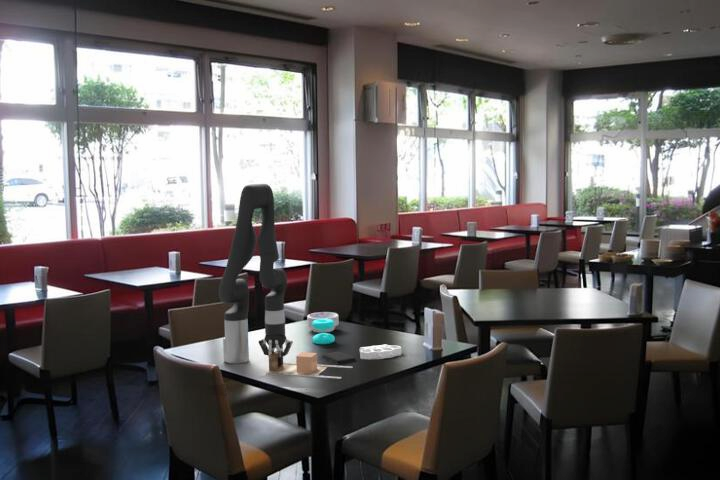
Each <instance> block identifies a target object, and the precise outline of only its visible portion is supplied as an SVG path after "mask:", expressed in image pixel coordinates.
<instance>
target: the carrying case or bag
mask: <svg viewBox="0 0 720 480" xmlns="http://www.w3.org/2000/svg"><path fill="white" fill-rule="evenodd" d="M321 359H323V360H325V361H327V362H330V363H332V364H333V365H334V364H335V365H337V366H342V365H347V364H352V363H356V362H358V359H357V358H356V357H354V356H352V355H350V354H349V353H345V352H342V351H333V352H326V353H323V354H322V355H321Z"/></svg>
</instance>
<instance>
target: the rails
mask: <svg viewBox="0 0 720 480" xmlns="http://www.w3.org/2000/svg"><path fill="white" fill-rule="evenodd" d="M283 364H287V365H297V364H296V362H284V361H283ZM317 366H320V367H327V368H340V369H342V368H343V369H353V366H349V365H334V364H333V365H332V364H319V363H317ZM268 375H276V376H277V375H278V376H292V377H307V378H322V379H337V380H340V379H342V376H333V375H331V376H330V375H329V376H328V375H301V374H286V373H271V372H269V373H268Z"/></svg>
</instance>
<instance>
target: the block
mask: <svg viewBox="0 0 720 480" xmlns="http://www.w3.org/2000/svg"><path fill="white" fill-rule="evenodd" d="M295 358H296V359H295V360H296V362H295V363H296V364H297V372H303V373H313V372H314V371H315V370H316V369H317V364H318V353H317V352H303V351H302V352H300V353H299V354H298V355H296V356H295Z"/></svg>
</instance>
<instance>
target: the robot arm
mask: <svg viewBox="0 0 720 480" xmlns="http://www.w3.org/2000/svg"><path fill="white" fill-rule="evenodd" d="M274 202H275V198H274V193H273V189H272V187H271V186H270V185H269V184H267V183H257V184H256V183H252V184H246V185H245V186H244V187H243V189H242V191H241V194H240V199H239V204H238V205H239V206H238V213H237V220H236V224H235V230H234V233H233V238H232V239H231V241H232V242H231V245H230V250H229V255H228V258H227V263H226V265H225V266H226V267H225V270H224V272H223V275H222V278H221V281H220V284H219V288H218V297H219V298H218V299H219V300H220V301H221V302H222V303H224V304H233V305H232V306H231V307H230V308H229V309H227V310H226V311H225V312H224V314H223V315H224V317H223V318H224V338H223V339H222V346H223V347H222V349H223V362H225V363H228V364H241V363H247V362H248V361H249V360H250V356H249V355H250V352H249V351H250V348H249V324H248V321H249V320H248V318H249V317H248V314H249V311H250V310H249V304H250V303H249V301H250V288H249V285H248V282H247V281H246V279H244V278H238V277H239V274H241V272H242V270H244V268H245V267H246V266H247V265H248V264H249V263H250V261H251V260H252V259H253V257H254V255H255V251H256V248H257V247H258V248H257V249H258V253H259V258H260V259H259V261H260V262H259V276H258V277H259V281H260V284H261V286H262V287H263V288H265V289H268V290H270V289H271V290H270V292H269V293H268V294H267V295H265V297H264V331H265V332H264V334H265V336H264V338H262V339H260V340H258V344H259V346H260V348H261V350H262V352H263V355H264V356H267V357H269V355H270V354H272V353H273V352H275V351H277V352H278V367H281V366H282V365H283V363H284V357H286V356H287V355H288V354H289V353H290V350H291V347H292V346H293V340H288V339H287V336H286V316H285V315H286V314H285V306H284V305H285V303H284V297H285V294H286V289H287V286H288V285H287V284H288V276H287V274H286V273H287V272H286V271H285V270H284V269H283V268H281V267H276V268H274V267H275V266H274V265H275V263H276V262H277V261H279V259H280V256H279V255H280V254H279V249H278V244H277V237H276V227H275V223H276V222H275V203H274ZM256 209H259V210H261V215H262V216H261V218H262V221H261V225H260V229H259V233H258V236H257V233H256V231H255V228H254V226H253V216H254V213H255V210H256ZM284 344H285V348H284ZM275 349H276V350H275Z"/></svg>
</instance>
